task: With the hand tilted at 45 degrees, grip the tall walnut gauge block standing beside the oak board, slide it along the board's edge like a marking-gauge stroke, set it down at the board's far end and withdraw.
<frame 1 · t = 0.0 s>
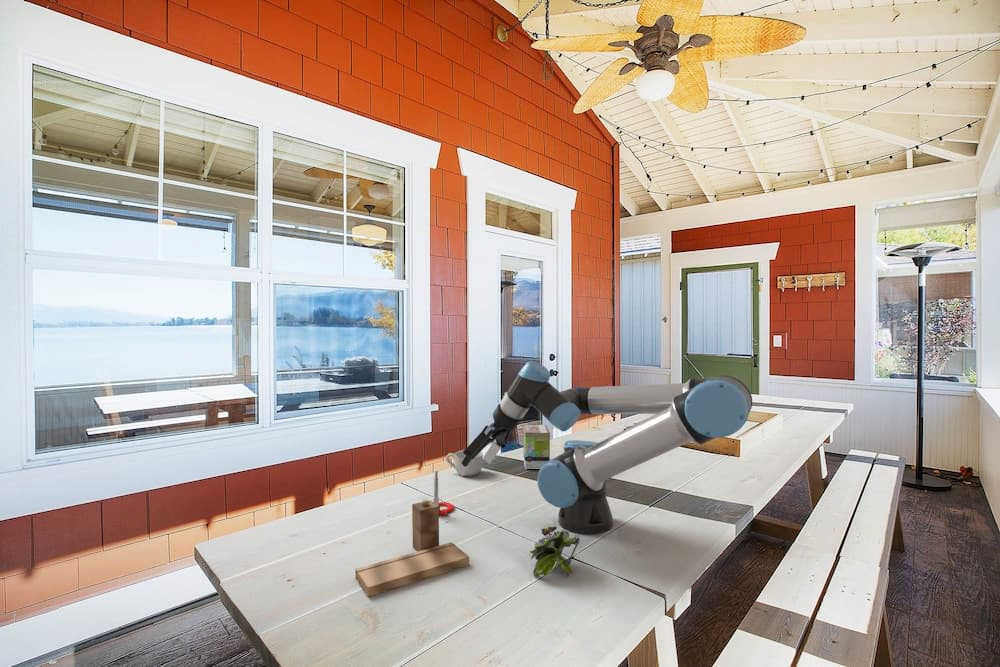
hand: (473, 466, 140), 15 cm above the table, tool tilted 35°, fingers open, 13 cm apart
tow hook: (439, 510, 147), on the table
teacup: (465, 474, 183), on the table
gauge block: (425, 548, 122), on the table
tea box: (536, 465, 194), on the table
board: (413, 571, 111), on the table
passion flower: (556, 571, 111), on the table
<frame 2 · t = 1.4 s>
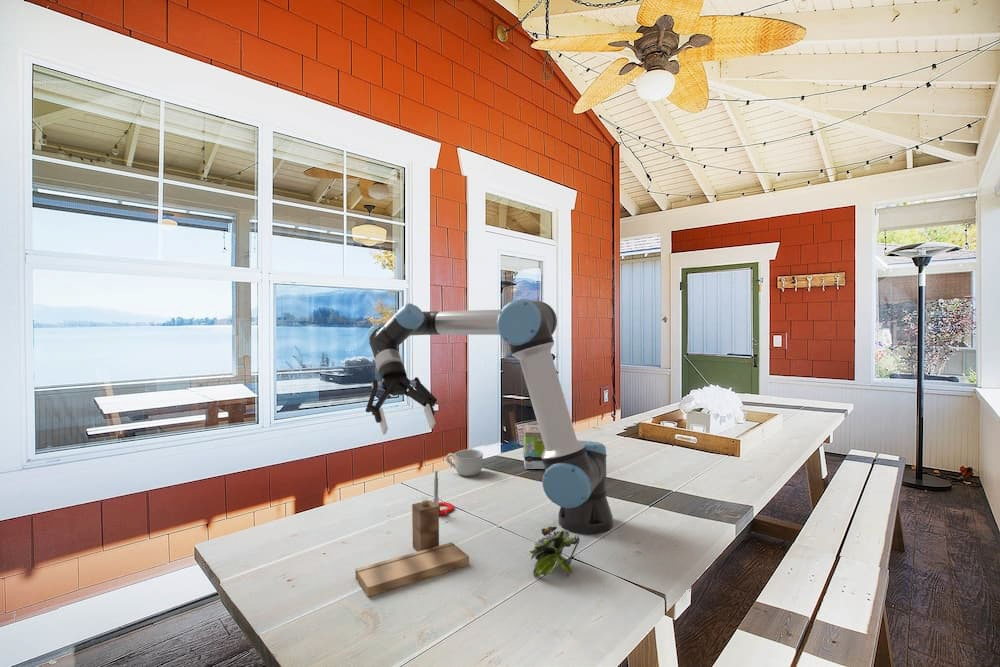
hand: (409, 428, 130), 28 cm above the table, tool tilted 45°, fingers open, 13 cm apart
nothing on the table moved.
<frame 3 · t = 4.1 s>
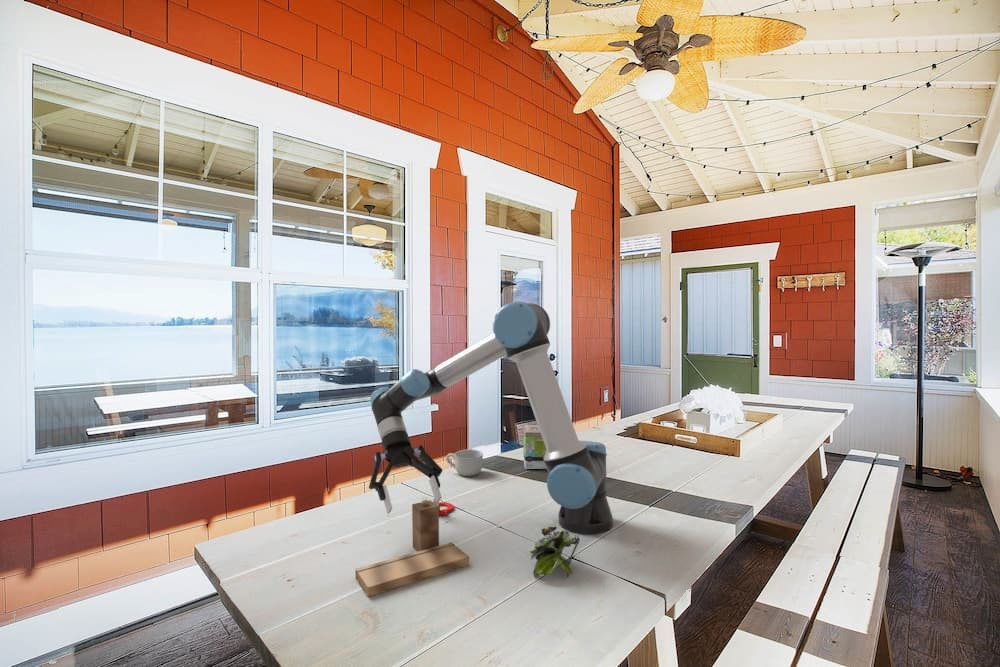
hand: (415, 505, 126), 10 cm above the table, tool tilted 45°, fingers open, 13 cm apart
nothing on the table moved.
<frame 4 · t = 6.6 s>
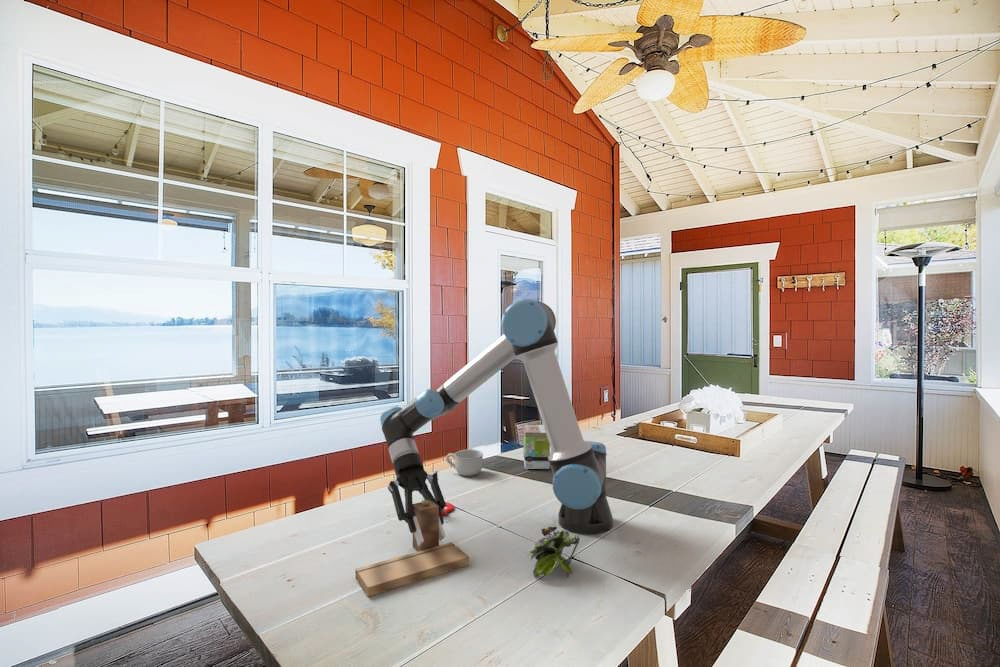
hand: (431, 540, 119), 3 cm above the table, tool tilted 45°, fingers closed on gauge block, 5 cm apart
gauge block: (425, 548, 122), on the table, touching gripper
everything else where it was.
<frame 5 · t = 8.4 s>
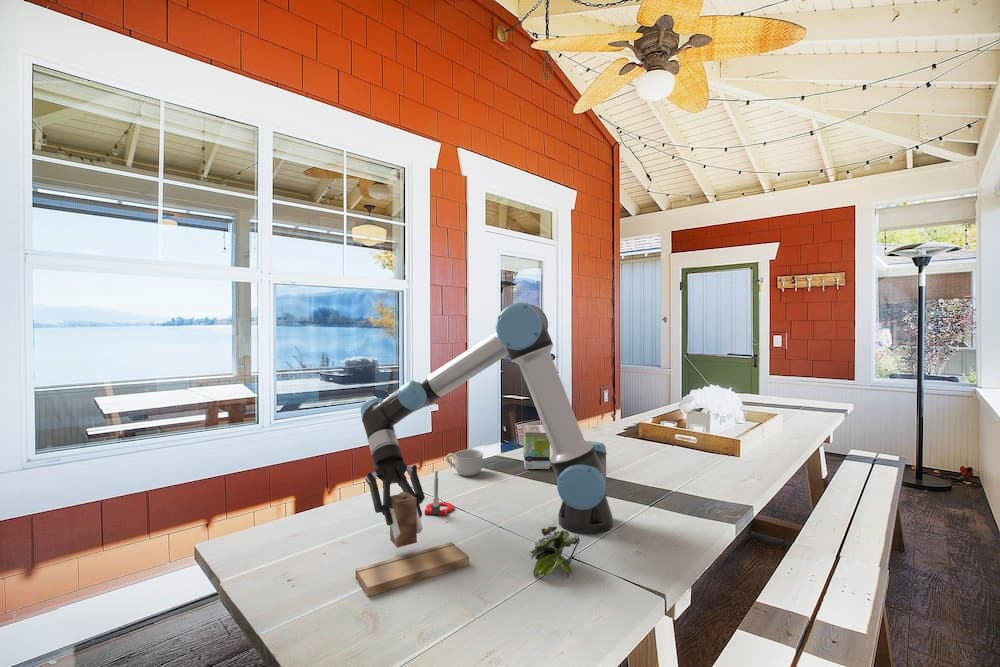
hand: (408, 533, 117), 6 cm above the table, tool tilted 45°, fingers closed on gauge block, 5 cm apart
gauge block: (403, 541, 120), point 3 cm above the table, touching gripper
everything else where it was.
when the fingers open (4 cm above the table, at t = 10.6 s): gauge block stays where it is, on the table.
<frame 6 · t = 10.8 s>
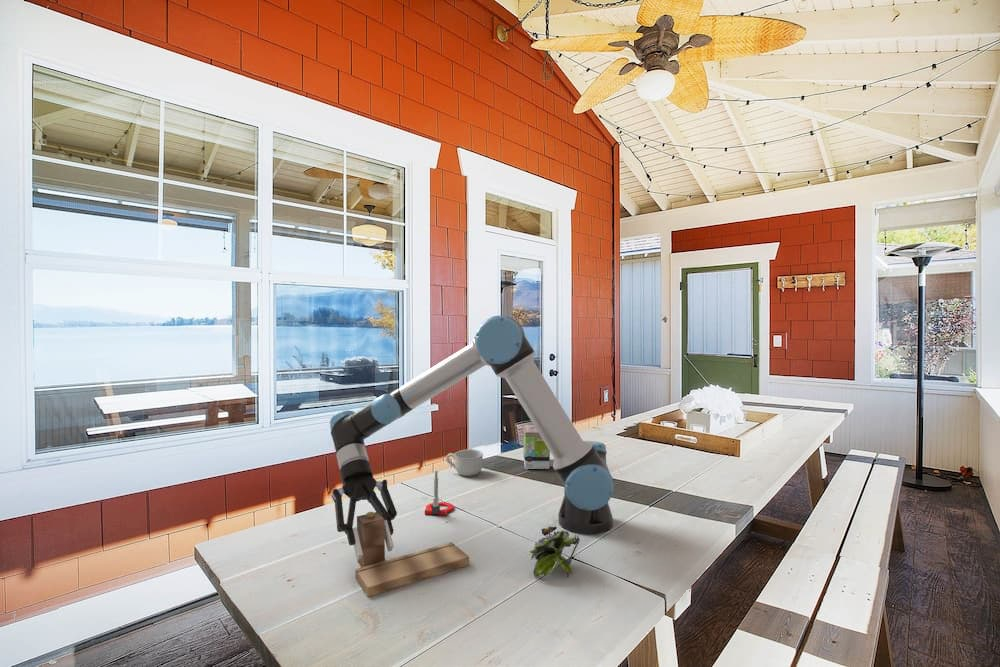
hand: (375, 552, 111), 4 cm above the table, tool tilted 45°, fingers open, 7 cm apart
gauge block: (371, 563, 115), on the table
everything else where it was.
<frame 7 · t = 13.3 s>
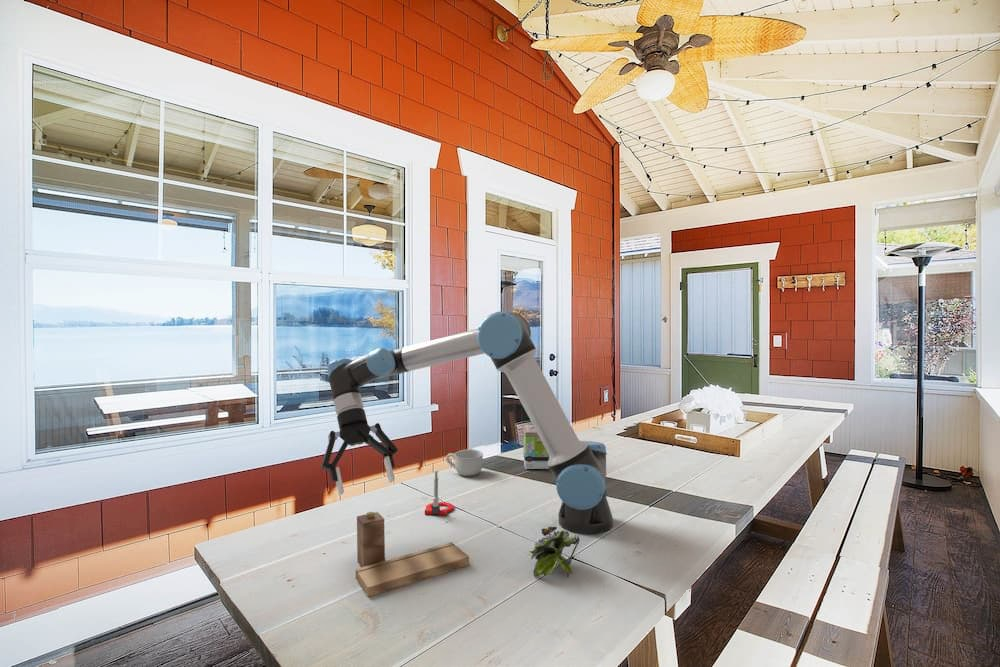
hand: (367, 487, 127), 14 cm above the table, tool tilted 30°, fingers open, 13 cm apart
nothing on the table moved.
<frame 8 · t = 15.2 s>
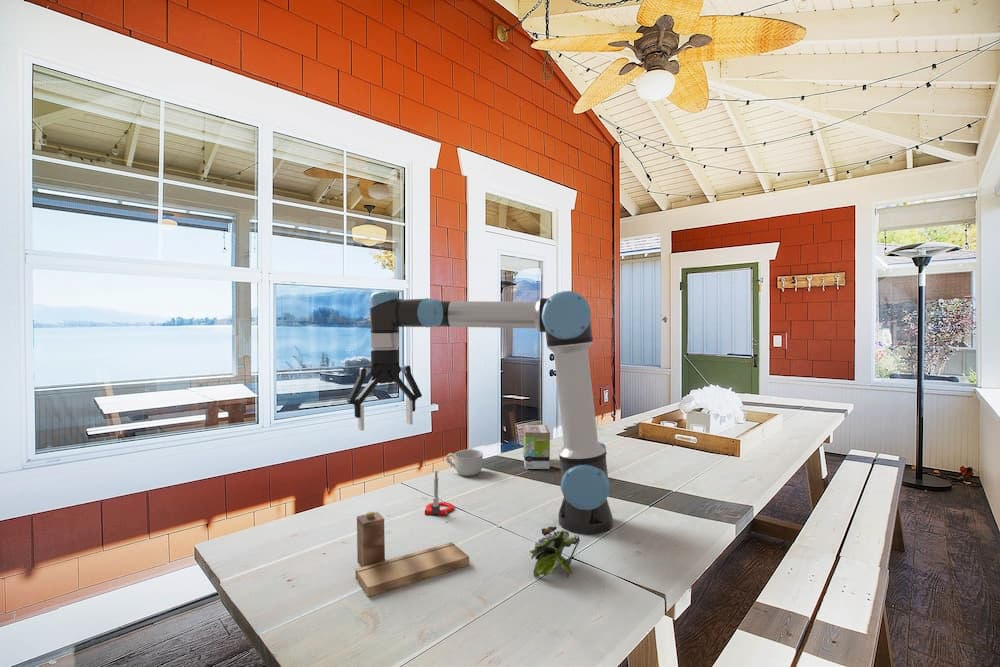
hand: (386, 426, 132), 29 cm above the table, tool pointing down, fingers open, 13 cm apart
nothing on the table moved.
at the end: gauge block inside the target area (0.2 cm from its centre), on the table; gauge block tilted 0°; the gripper is holding nothing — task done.
